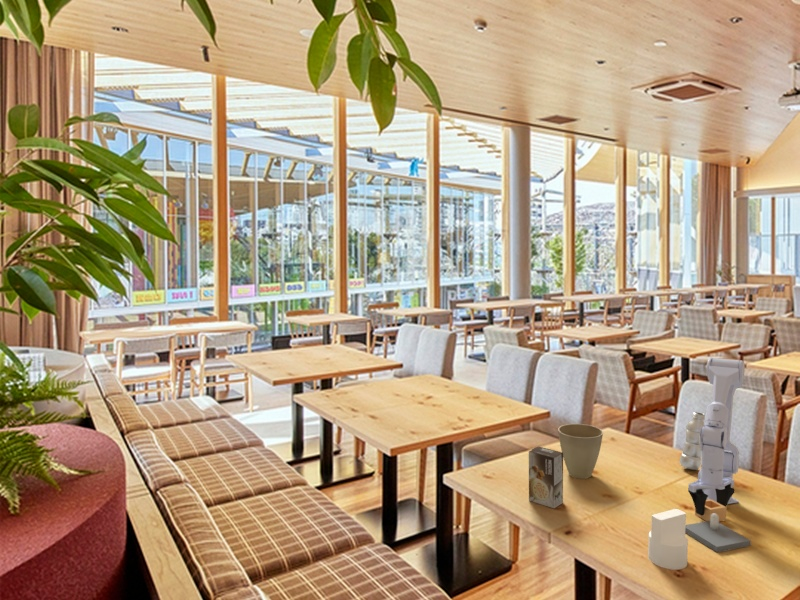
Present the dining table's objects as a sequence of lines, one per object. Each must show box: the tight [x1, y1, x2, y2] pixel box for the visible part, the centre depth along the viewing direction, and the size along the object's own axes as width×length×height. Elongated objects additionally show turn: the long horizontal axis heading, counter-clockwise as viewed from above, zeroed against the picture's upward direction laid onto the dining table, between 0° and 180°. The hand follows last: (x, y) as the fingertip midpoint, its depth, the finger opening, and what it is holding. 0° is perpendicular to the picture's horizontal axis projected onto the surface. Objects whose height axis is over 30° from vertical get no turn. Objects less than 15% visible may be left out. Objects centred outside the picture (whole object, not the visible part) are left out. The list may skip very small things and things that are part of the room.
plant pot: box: [557, 423, 604, 480], centre depth 200 cm, size 15×15×16 cm
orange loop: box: [694, 499, 727, 523], centre depth 168 cm, size 6×6×4 cm
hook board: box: [685, 513, 752, 553], centre depth 156 cm, size 12×11×6 cm
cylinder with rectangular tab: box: [647, 508, 689, 571], centre depth 145 cm, size 9×9×12 cm
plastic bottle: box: [679, 411, 706, 471], centre depth 203 cm, size 6×7×20 cm
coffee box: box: [528, 446, 564, 509], centre depth 179 cm, size 9×6×16 cm
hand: (710, 512), depth 168 cm, fingers open, 7 cm apart
